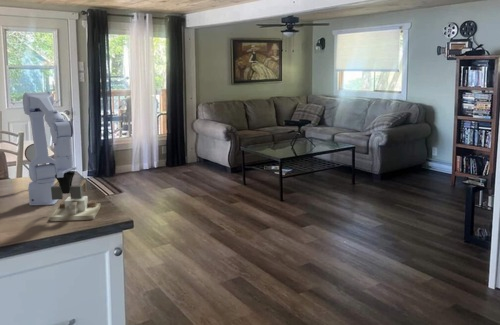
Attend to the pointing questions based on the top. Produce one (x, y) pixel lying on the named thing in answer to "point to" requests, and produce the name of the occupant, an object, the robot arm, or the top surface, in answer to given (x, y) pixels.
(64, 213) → the stand
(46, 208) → the top surface
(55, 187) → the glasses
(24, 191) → the top surface
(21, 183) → the top surface
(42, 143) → the robot arm
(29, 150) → the magnifying glass
